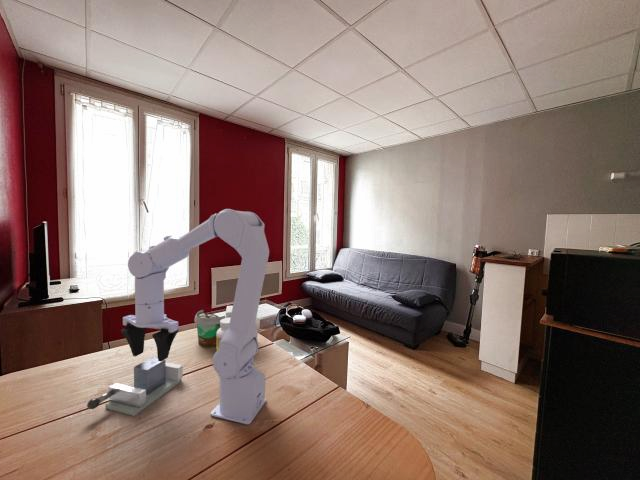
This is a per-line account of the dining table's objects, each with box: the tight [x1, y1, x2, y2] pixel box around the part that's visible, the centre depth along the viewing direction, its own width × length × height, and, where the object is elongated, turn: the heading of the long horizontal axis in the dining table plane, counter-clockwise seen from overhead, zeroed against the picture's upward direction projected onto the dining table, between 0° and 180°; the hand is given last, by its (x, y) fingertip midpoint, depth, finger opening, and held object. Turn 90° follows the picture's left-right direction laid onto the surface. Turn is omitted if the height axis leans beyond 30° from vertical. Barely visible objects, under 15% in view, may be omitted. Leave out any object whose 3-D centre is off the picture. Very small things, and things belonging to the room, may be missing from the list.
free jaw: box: [86, 382, 146, 410], centre depth 55 cm, size 9×6×3 cm
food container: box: [194, 309, 226, 348], centre depth 88 cm, size 12×6×10 cm, turn 62°
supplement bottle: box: [215, 317, 231, 351], centre depth 76 cm, size 7×7×13 cm
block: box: [133, 356, 167, 395], centre depth 63 cm, size 5×4×6 cm
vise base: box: [105, 362, 184, 417], centre depth 62 cm, size 9×13×4 cm, turn 165°
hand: (150, 356), depth 62 cm, fingers open, 7 cm apart
